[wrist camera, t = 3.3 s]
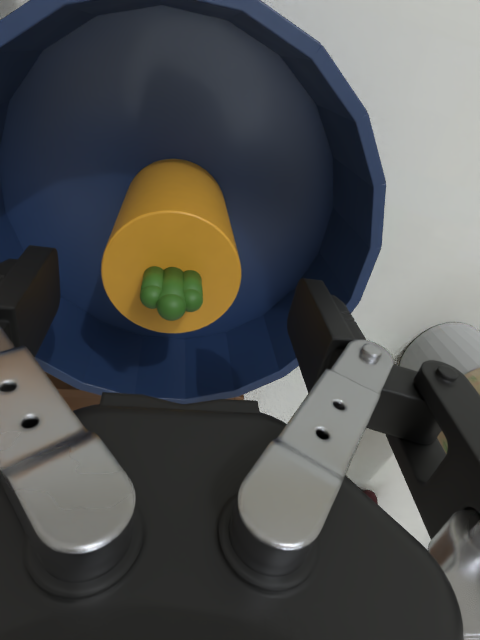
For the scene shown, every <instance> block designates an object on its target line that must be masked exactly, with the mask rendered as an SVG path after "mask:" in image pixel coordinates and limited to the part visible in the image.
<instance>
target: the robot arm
mask: <svg viewBox="0 0 480 640" xmlns="http://www.w3.org/2000/svg"><path fill="white" fill-rule="evenodd" d="M60 294H61V292H60V277H59V262H58V253H57V250H56V248H51V247H42V246H34V245H29V246H28V247H27V248H26V250H25V251H24V252H23V254H22V255H21V256H20V257H19V259H11V258H10V259H7V260H5V261H3V262H1V263H0V640H480V395H479V393H478V392H477V391H476V389H475V388H474V387H473V385H472V384H471V383H470V381H469V380H468V379H467V378H466V376H465V375H464V374H463V373H461V372H460V371H459V370H457V369H456V368H454V367H452V366H451V365H448V364H446V363H443V362H440V361H435V360H428V361H425V362H423V363H422V365H421V367H420V368H419V370H418V371H414V370H411V369H408V368H404V367H401V366H398V365H395V364H394V360H393V357H392V355H391V354H390V353H389V352H388V351H387V350H386V349H385V348H383V347H382V346H380V345H378V344H376V343H374V342H371V341H368V340H366V339H365V337H364V335H363V334H362V332H361V330H360V328H359V327H358V325H357V323H356V322H355V321H354V318H353V317H352V315H351V314H350V312H349V310H348V308H347V307H346V305H345V304H344V303H343V302H342V301H341V300H340V299H338V298H337V297H336V296H335V295H331V294H330V293H329V291H328V289H327V287H326V286H325V284H324V282H323V281H322V280H315V279H307V278H301V279H300V280H299V282H298V284H297V287H296V291H295V294H294V297H293V301H292V304H291V307H290V311H289V314H288V318H287V332H288V335H289V338H290V341H291V344H292V346H293V349H294V352H295V355H296V358H297V361H298V364H299V367H300V370H301V373H302V376H303V379H304V381H305V384H306V387H307V390H308V393H309V394H308V395H307V397H306V398H305V399H304V401H303V402H302V404H301V405H300V407H299V408H298V409H297V411H296V412H295V414H294V415H293V416H292V418H291V419H290V421H289V422H288V424H286V423H284V422H282V421H281V420H279V419H276V418H274V417H272V416H270V415H267V414H264V413H260V412H259V407H258V401H250V400H232V399H217V400H210V401H203V402H196V403H189V404H179V403H175V402H171V401H167V400H163V399H159V398H155V397H151V396H147V395H143V394H125V393H108V392H102V396H101V400H100V404H96V405H91V406H87V407H83V408H80V409H77V410H74V411H72V409H71V408H70V407H69V405H68V404H67V402H66V401H65V400H64V398H63V397H62V395H61V394H60V393H59V391H58V390H57V388H56V387H55V386H54V384H53V383H52V382H51V380H50V379H49V377H48V376H47V375H46V373H45V372H44V370H43V369H42V368H41V366H40V365H39V364H38V362H37V361H36V359H35V356H36V354H37V352H38V350H39V348H40V346H41V344H42V342H43V340H44V338H45V336H46V334H47V332H48V330H49V328H50V325H51V323H52V321H53V319H54V317H55V315H56V313H57V311H58V308H59V304H60ZM366 428H369V429H372V430H375V431H378V432H382V433H385V434H386V437H387V439H388V441H389V444H390V446H391V448H392V451H393V453H394V455H395V458H396V460H397V462H398V464H399V467H400V469H401V471H402V474H403V476H404V478H405V481H406V483H407V485H408V487H409V490H410V492H411V494H412V497H413V499H414V501H415V504H416V506H417V508H418V511H419V513H420V515H421V517H422V520H423V522H424V524H425V527H426V529H427V531H428V534H429V536H430V538H431V541H430V543H429V546H428V550H427V549H426V548H425V547H424V546H423V545H422V544H421V543H420V542H418V541H417V540H416V539H415V538H414V537H413V536H412V535H411V534H410V533H409V532H407V531H406V530H405V529H404V528H403V527H402V526H401V525H400V524H399V523H397V522H396V521H395V520H394V519H393V518H392V517H391V516H390V515H389V514H387V513H386V512H385V511H384V510H383V509H382V508H381V507H380V506H379V505H377V504H376V503H375V502H374V501H373V500H372V499H371V498H370V497H369V496H367V495H366V494H365V493H364V492H363V491H362V490H361V489H360V488H359V487H358V486H356V485H355V484H354V483H353V482H352V481H351V480H350V479H349V478H348V477H346V476H345V474H346V471H347V469H348V467H349V465H350V462H351V460H352V458H353V456H354V453H355V451H356V449H357V447H358V445H359V442H360V440H361V438H362V436H363V433H364V431H365V429H366ZM441 431H442V432H443V434H444V435H445V437H446V440H447V444H448V450H447V454H446V453H445V451H444V449H443V447H442V445H441V444H440V442H439V440H438V438H437V437H438V435H439V434H440V432H441Z"/></svg>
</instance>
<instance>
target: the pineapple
mask: <svg viewBox="0 0 480 640" xmlns="http://www.w3.org/2000/svg"><path fill="white" fill-rule="evenodd" d="M101 277H102V282H103V286H104V288H105V291H106V293H107V295H108V297H109V299H110V301H111V302H112V303H113V305H114V306H115V307H116V309H117V310H118V311H119V312H120V313H121V314H122V315H124V316H125V317H126V318H127V319H129V320H130V321H132V322H134V323H135V324H137V325H139V326H141V327H143V328H146V329H149V330H152V331H156V332H162V333H185V332H191V331H194V330H198V329H201V328H203V327H205V326H208V325H209V324H211V323H213V322H214V321H216V320H217V319H218V318H220V317H221V316H222V315H223V314H224V313H225V312H226V311H227V310H228V309H229V307H230V306H231V305H232V303H233V301H234V300H235V298H236V296H237V293H238V291H239V287H240V283H241V264H240V259H239V255H238V251H237V247H236V243H235V239H234V235H233V232H232V228H231V224H230V220H229V216H228V212H227V208H226V204H225V200H224V197H223V193H222V191H221V189H220V187H219V185H218V183H217V182H216V180H215V179H214V178H213V177H212V175H210V174H209V173H208V172H207V171H206V170H205V169H203V168H202V167H200V166H199V165H197V164H195V163H192V162H190V161H186V160H182V159H164V160H159V161H156V162H154V163H152V164H150V165H148V166H146V167H145V168H143V169H142V170H141V171H140V172H139V173H138V174H137V175H136V176H135V177H134V179H133V180H132V182H131V184H130V185H129V188H128V191H127V193H126V196H125V198H124V201H123V203H122V206H121V209H120V211H119V214H118V216H117V219H116V222H115V224H114V227H113V229H112V232H111V235H110V237H109V240H108V242H107V245H106V248H105V250H104V253H103V257H102V261H101Z"/></svg>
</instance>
